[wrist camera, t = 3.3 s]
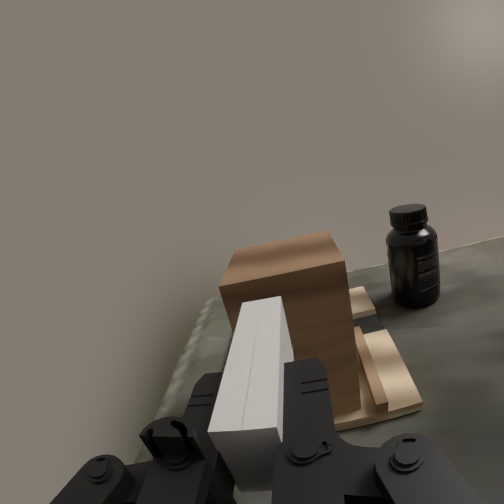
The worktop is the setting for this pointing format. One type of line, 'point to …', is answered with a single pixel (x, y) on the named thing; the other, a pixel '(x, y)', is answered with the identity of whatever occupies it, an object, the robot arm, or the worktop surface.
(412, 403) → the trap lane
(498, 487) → the worktop surface
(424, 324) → the worktop surface
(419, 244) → the supplement bottle
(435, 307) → the worktop surface
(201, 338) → the worktop surface
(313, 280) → the walnut block
